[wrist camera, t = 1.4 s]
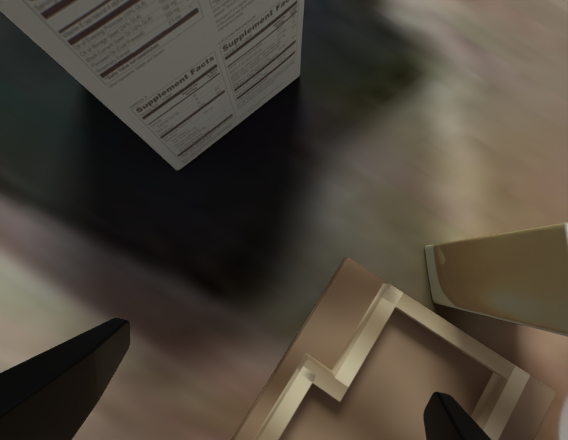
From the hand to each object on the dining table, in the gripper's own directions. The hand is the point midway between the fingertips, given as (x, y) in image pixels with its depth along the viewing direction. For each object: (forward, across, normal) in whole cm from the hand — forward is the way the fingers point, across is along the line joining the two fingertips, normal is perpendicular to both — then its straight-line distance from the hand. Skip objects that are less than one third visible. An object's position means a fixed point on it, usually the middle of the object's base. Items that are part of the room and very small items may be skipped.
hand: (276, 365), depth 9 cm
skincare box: (+15, -13, +2) cm, 19 cm away
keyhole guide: (+8, -8, +13) cm, 17 cm away
